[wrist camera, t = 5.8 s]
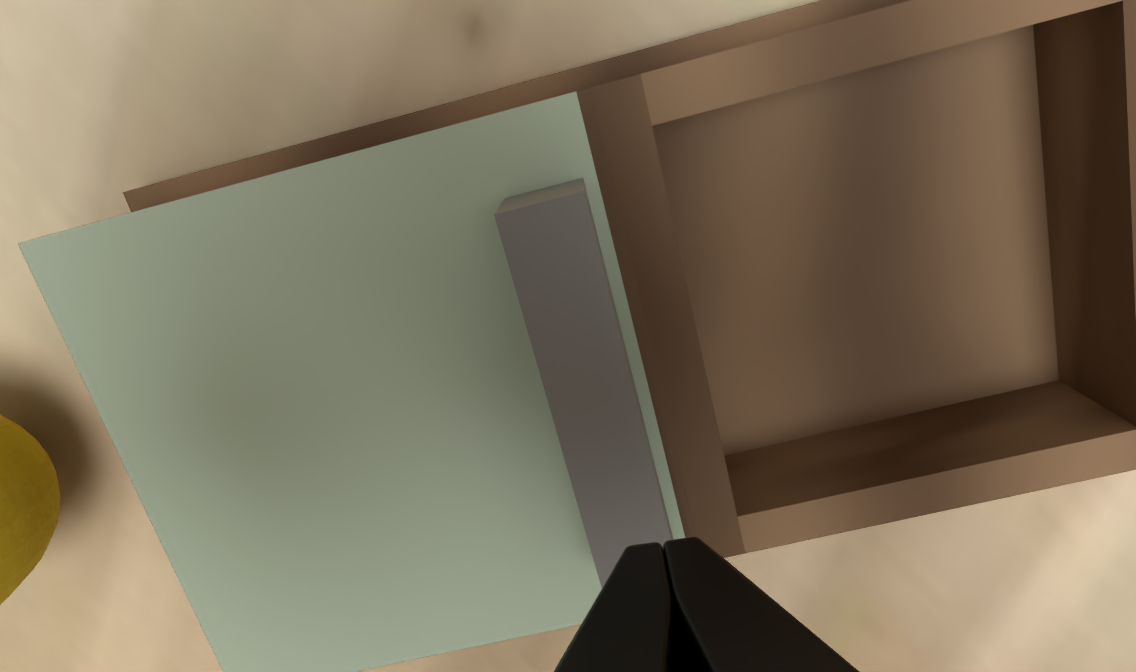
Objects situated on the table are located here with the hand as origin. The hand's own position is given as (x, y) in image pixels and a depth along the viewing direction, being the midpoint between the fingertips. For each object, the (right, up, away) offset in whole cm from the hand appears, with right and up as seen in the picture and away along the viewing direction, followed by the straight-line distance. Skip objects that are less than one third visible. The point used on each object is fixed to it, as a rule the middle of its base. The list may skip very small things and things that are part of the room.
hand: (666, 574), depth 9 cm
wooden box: (+1, +4, +11) cm, 12 cm away
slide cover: (-5, +1, +8) cm, 9 cm away
